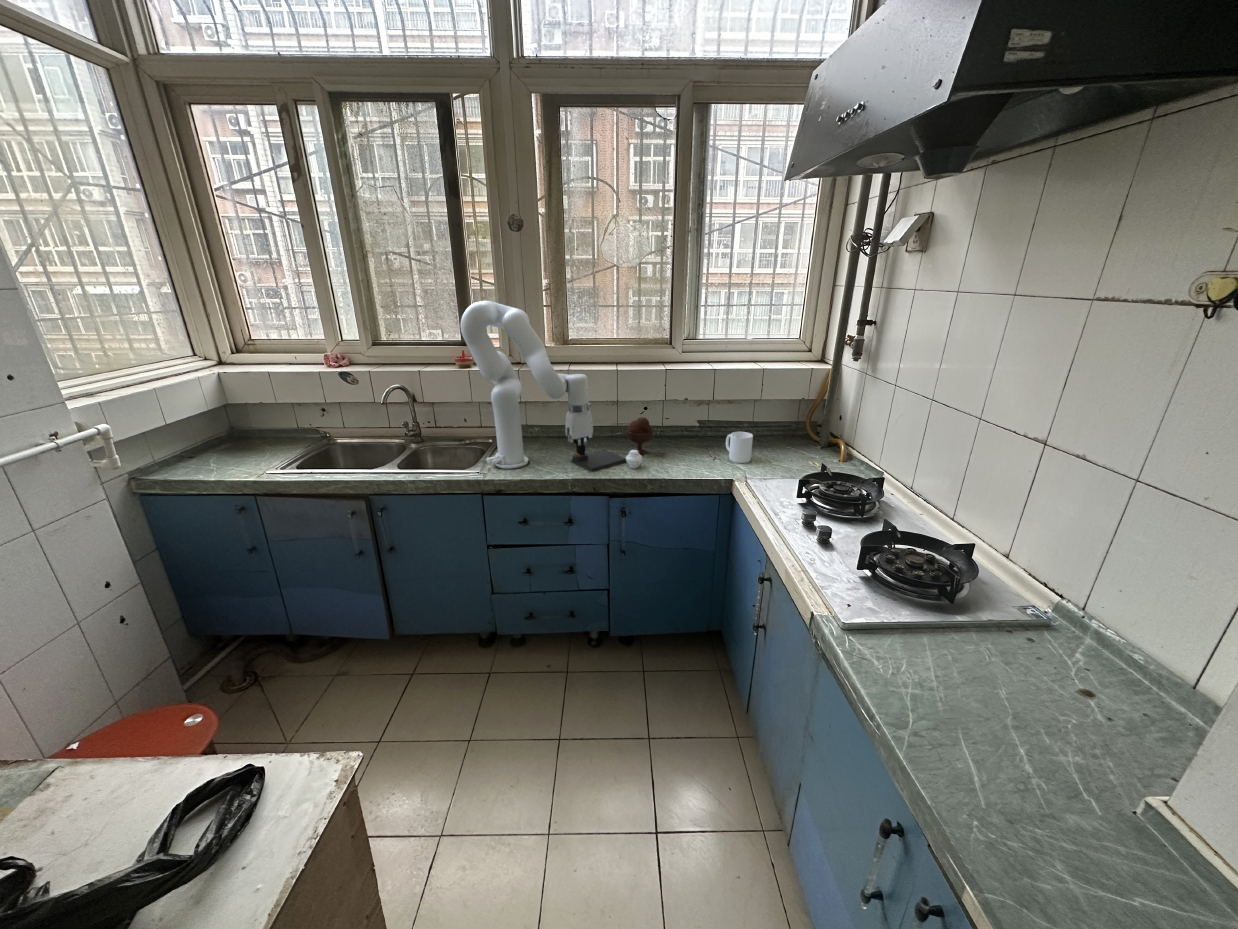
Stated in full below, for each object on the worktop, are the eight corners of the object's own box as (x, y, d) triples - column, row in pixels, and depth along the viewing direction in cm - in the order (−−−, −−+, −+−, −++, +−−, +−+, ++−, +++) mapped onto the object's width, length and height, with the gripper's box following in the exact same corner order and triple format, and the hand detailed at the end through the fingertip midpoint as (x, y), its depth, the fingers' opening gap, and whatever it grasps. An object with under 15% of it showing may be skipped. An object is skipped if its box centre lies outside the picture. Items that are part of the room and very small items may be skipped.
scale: (591, 472, 183) (591, 464, 182) (570, 461, 193) (570, 454, 192) (626, 462, 192) (626, 454, 191) (604, 452, 203) (604, 445, 202)
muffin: (630, 471, 183) (630, 453, 181) (622, 466, 188) (622, 448, 186) (645, 468, 186) (645, 450, 183) (637, 463, 191) (637, 445, 188)
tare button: (579, 459, 191) (579, 455, 190) (575, 457, 193) (575, 453, 192) (585, 458, 192) (585, 454, 192) (581, 456, 194) (581, 452, 194)
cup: (739, 465, 188) (742, 439, 184) (717, 456, 197) (719, 431, 194) (755, 460, 192) (757, 435, 189) (732, 452, 202) (734, 428, 198)
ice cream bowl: (653, 448, 207) (653, 413, 201) (652, 457, 196) (652, 421, 191) (627, 447, 208) (627, 413, 202) (625, 457, 197) (625, 420, 192)
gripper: (589, 402, 192) (591, 447, 199) (556, 409, 184) (559, 455, 190) (600, 406, 187) (602, 452, 193) (567, 413, 178) (569, 461, 185)
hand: (581, 454), depth 192 cm, fingers closed
